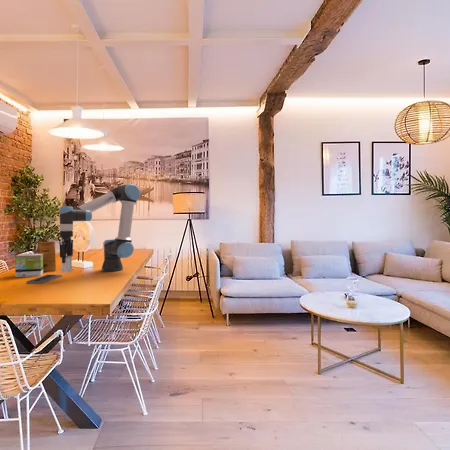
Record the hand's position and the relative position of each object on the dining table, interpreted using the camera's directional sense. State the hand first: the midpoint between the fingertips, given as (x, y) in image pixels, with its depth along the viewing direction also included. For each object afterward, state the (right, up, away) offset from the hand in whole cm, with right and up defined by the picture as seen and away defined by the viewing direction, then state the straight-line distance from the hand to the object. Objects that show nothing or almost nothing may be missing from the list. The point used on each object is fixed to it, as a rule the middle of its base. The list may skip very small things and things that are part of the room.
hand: (66, 267), depth 202 cm
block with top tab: (0, -3, 0) cm, 3 cm away
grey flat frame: (-14, -8, +1) cm, 16 cm away
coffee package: (-32, -7, +33) cm, 46 cm away
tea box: (-33, -8, +15) cm, 37 cm away
